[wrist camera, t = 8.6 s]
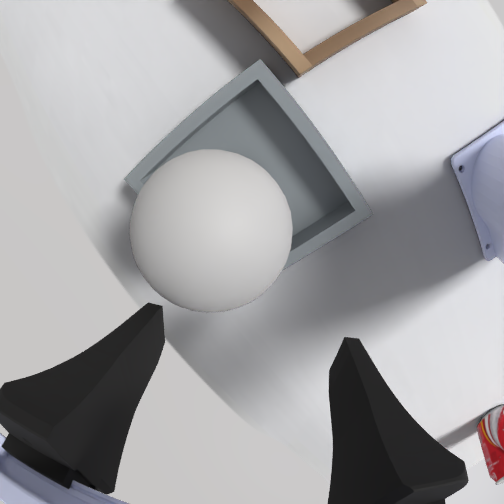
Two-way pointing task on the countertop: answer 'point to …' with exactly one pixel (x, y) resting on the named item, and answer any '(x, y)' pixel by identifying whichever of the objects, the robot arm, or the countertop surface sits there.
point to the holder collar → (302, 63)
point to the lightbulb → (210, 230)
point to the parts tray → (270, 155)
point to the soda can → (493, 442)
